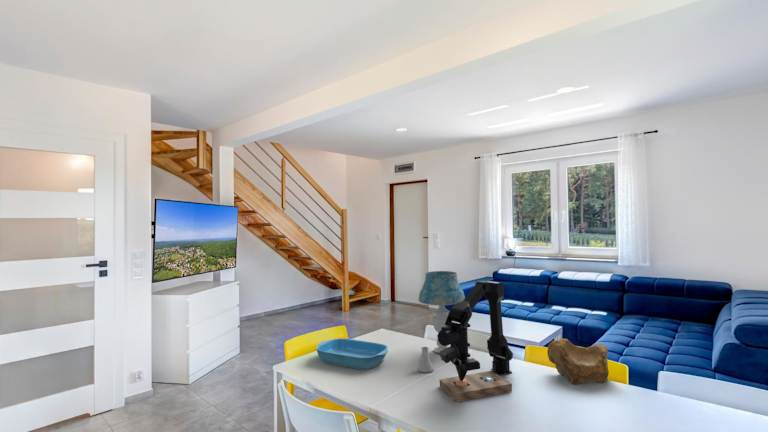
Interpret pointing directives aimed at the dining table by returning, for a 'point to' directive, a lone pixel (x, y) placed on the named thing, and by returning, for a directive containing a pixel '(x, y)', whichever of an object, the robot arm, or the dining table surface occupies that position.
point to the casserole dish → (351, 353)
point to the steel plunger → (487, 378)
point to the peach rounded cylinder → (461, 382)
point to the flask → (425, 362)
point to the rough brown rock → (579, 361)
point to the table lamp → (441, 297)
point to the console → (475, 386)
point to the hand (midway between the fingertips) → (461, 380)
